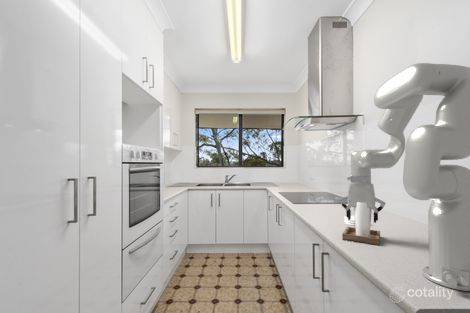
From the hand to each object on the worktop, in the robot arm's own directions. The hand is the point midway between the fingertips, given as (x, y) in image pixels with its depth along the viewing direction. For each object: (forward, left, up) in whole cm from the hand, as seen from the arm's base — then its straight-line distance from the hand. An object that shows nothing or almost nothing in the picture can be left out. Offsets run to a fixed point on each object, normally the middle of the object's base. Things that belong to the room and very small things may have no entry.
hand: (361, 220), depth 102 cm
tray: (0, 0, -8) cm, 8 cm away
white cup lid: (+25, +6, -8) cm, 27 cm away
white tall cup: (0, 0, -7) cm, 7 cm away
